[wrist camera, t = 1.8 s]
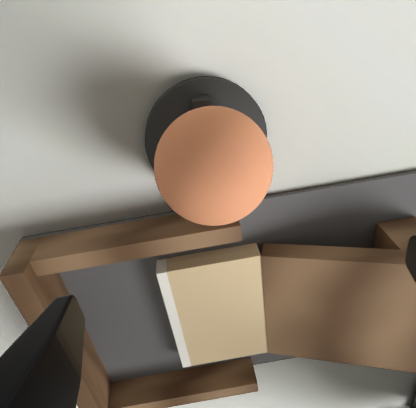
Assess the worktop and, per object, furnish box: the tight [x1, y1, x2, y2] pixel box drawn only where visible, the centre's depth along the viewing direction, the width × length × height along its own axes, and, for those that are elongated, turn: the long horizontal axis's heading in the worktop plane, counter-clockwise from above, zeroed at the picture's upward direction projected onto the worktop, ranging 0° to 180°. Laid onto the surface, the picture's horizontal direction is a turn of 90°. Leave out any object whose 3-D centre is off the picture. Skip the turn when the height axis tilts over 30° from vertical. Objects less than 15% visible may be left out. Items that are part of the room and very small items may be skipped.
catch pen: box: [0, 214, 258, 408], centre depth 22 cm, size 12×15×3 cm
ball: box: [154, 106, 273, 226], centre depth 15 cm, size 5×5×5 cm
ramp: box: [261, 216, 416, 373], centre depth 22 cm, size 10×9×5 cm
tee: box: [145, 76, 267, 169], centre depth 17 cm, size 6×6×1 cm
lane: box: [20, 170, 416, 382], centre depth 23 cm, size 23×15×2 cm, turn 98°
